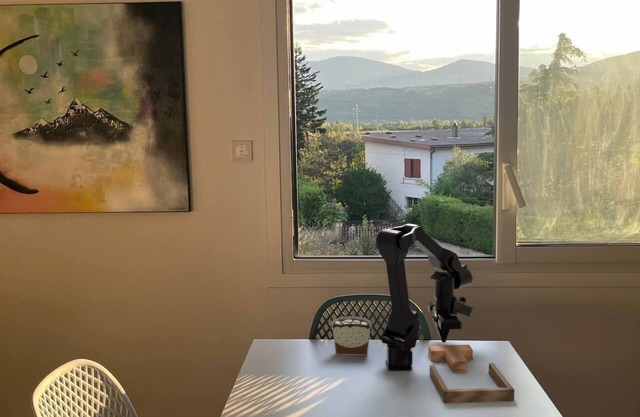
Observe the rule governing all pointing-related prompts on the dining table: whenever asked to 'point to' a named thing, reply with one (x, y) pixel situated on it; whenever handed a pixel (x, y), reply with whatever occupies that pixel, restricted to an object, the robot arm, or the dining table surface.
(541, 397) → the dining table surface
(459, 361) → the terracotta T block
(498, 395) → the walnut bay
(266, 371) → the dining table surface
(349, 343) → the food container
